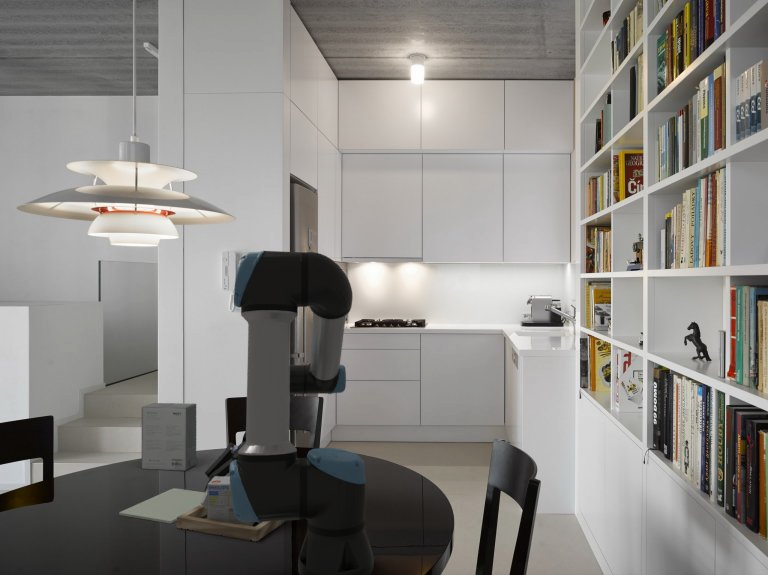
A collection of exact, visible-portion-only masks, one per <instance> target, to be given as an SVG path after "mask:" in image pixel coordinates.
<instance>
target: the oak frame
mask: <svg viewBox="0 0 768 575" xmlns="http://www.w3.org/2000/svg"><path fill="white" fill-rule="evenodd" d="M206 516H207V509H206V508H204V507H203V505H202V504H201V505H199V506H197V507H195V508H194V509H192V510H190V511H188V512H186V513H184V514H182V515H180V516H178V517H177V521H176V528H177V529H181V528H182V530H187V529H189V530H188V531H192V530H193V532H199V533H204V534H210V535H211V534H212V535H218V536H221V535H222V536H223V537H227V538H235V539H240V540H245V541H250V540H252V542H256V541H257V542H259V541H260V540H261V539H262V538H264V537H266V536H267V535H269V533H271V532H272V531H274V530H276V529H277V528H278V527H279V526H281V525H282V524H284V523H285V522H287V520H283V521H265V522H262V523H258V524H257V525H255V526H246V525H240V524H234V523H228V522H222V521H215V520H209V519H207V518H204V517H206Z"/></svg>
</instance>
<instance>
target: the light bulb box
mask: <svg viewBox="0 0 768 575" xmlns="http://www.w3.org/2000/svg"><path fill="white" fill-rule="evenodd" d="M207 483H208V482H207ZM206 516H207V517H206V519H209V520H215V521H222V522H228V523H234V524H240V525H246V526H252V527H254V524H255V523H256V522H242V521H240V520H238V519H237V518H236V516H235V514H234V510H233V505H232V499H231V490H230V475H229V476H228V475H226V476H223V477H218V476H215V477H214V478H213V479H212V480H211V481H210V482H209V483H208V487H207V515H206Z"/></svg>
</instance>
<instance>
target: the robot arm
mask: <svg viewBox="0 0 768 575" xmlns="http://www.w3.org/2000/svg"><path fill="white" fill-rule="evenodd" d="M347 276H348V275H347V274H346V272H345V271H344V270H343V269H342V268H341V266H340V265H339V264H338V263H336V262H335V261H334V260H333V259H332V258H330V257H328V256H327V255H324V254H321V253H320V252H319V253H318V252H313V251H307V252H305V251H301V252H300V251H279V250H278V251H277V250H262V251H247V252H245V253H243V254H242V255H241V257H240V259H239V262H238V265H237V270H236V274H235V281H234V291H233V292H234V294H233V305H234V306H235V307H237V308H239V309H240V308H241V309H240V315H241V317H242V318H243V319H244V320H245V321H246V322H247V324H248V326H247V327H248V328H247V329H248V330H247V331H248V334H247V370H246V371H247V374H246V376H247V378H246V379H247V380H246V383H247V384H246V420H245V421H246V425H245V432H244V433H243V436H242V441H241V443H239V445H236V444H234V443H233V442H229V443H228V444H227V447H226V449H225V450H224V451H223V452H222V454H221V455H220V456H218V457H217V459H216V460H215V461H214V462H213V463H212V464H211V465H210V466H209V467H208V469H206V471H204V474H205V476H206V477H207V478H208V481H207V483H206V485H205V488H204V493H205V494H204V496H203V498H202V500H201V502H200V503H201V504H202V505H203V507H204V508H206V509H207V487H208V483H209V482H210V481H211V480H212V479H213V478H214V477H215V476H218V477H223V476H228V474H229V476H230V490H231V499H232V505H233V510H234V514H235V516H236V518H237V519H238V520H240V521H242V522H255V523H258V524H260V523H262V522H265V521H283V520H286V521H295V520H296V521H299V520H307V522H306V523H307V526H306V527H307V529H306V533H305V537H304V540H303V543H302V547H301V549H300V551H299V555H298V560H297V562H298V565H297V567H298V568H297V572H298V574H299V575H372V573H373V571H374V564H375V562H374V559H375V558H374V553H373V551H372V547H371V544H370V540H369V537H368V534H367V531H366V483H367V478H366V468H365V467H366V465H365V461H364V460H363V458H362V457H361V456H360V455H358V454H357V453H354V452H352V451H349V450H345V449H340V448H332V447H319V448H312V449H311V450H309V451H308V453H307V455H306V457H300V458H299V457H298V455H297V454H298V453H297V452H298V450H297V447H296V446H295V445H294V444H293V443H292V442H291V441H290V421H291V420H290V418H291V417H290V414H291V413H290V411H291V410H290V403H291V402H292V399H293V395H308V394H309V395H311V394H313V395H314V394H317V395H319V394H323V395H324V394H328V395H332V394H341V393H344V392H345V390H346V387H347V386H346V385H347V384H346V383H347V371H346V367H345V365H344V364H341V359H342V358H341V357H342V349H343V343H344V334H345V333H344V332H345V323H346V316H347V315H348V314H349V313H350V311H351V310H352V305H353V288H352V286H351V283H350V280H349V278H348V277H347ZM307 307H308V308H309V309H310V311H311V312H312V324H311V343H310V344H311V345H310V363H309V364H297V365H296V364H294V365H293V364H291V323H292V322H293V321H294V320H295V319H296V318H297V317H298V313H299V310H298V308H307Z"/></svg>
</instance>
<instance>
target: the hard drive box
mask: <svg viewBox="0 0 768 575" xmlns="http://www.w3.org/2000/svg"><path fill="white" fill-rule="evenodd" d="M196 465H197V403H188V402H187V403H183V402H182V403H179V402H173V403H171V402H154V403H149V404H145V405H143V406H141V469H142V470H162V471H164V470H165V471H183V472H184V471H187V470H189V469H191V468H192V467H194V466H196Z"/></svg>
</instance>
